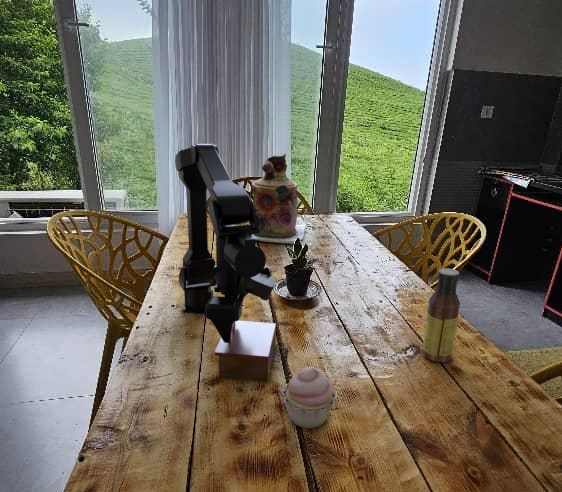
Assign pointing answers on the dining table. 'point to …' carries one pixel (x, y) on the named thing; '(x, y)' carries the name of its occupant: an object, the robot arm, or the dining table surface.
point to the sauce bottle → (442, 318)
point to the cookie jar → (276, 204)
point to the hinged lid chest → (246, 367)
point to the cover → (248, 341)
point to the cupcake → (309, 398)
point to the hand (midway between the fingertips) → (231, 330)
